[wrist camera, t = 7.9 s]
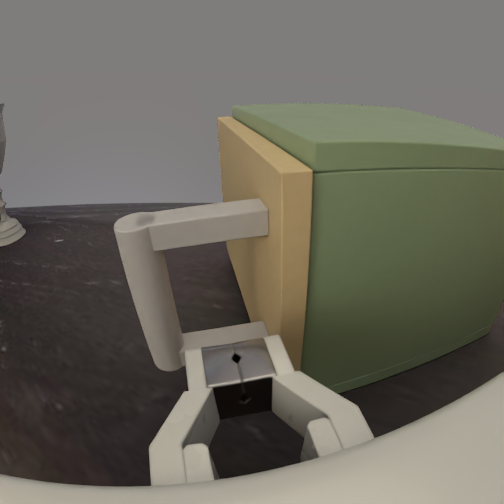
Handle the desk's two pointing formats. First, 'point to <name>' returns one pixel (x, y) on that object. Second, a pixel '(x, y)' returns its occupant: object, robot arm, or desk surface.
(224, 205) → the pull-out drawer
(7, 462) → the desk surface
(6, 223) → the chalice
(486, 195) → the cabinet
